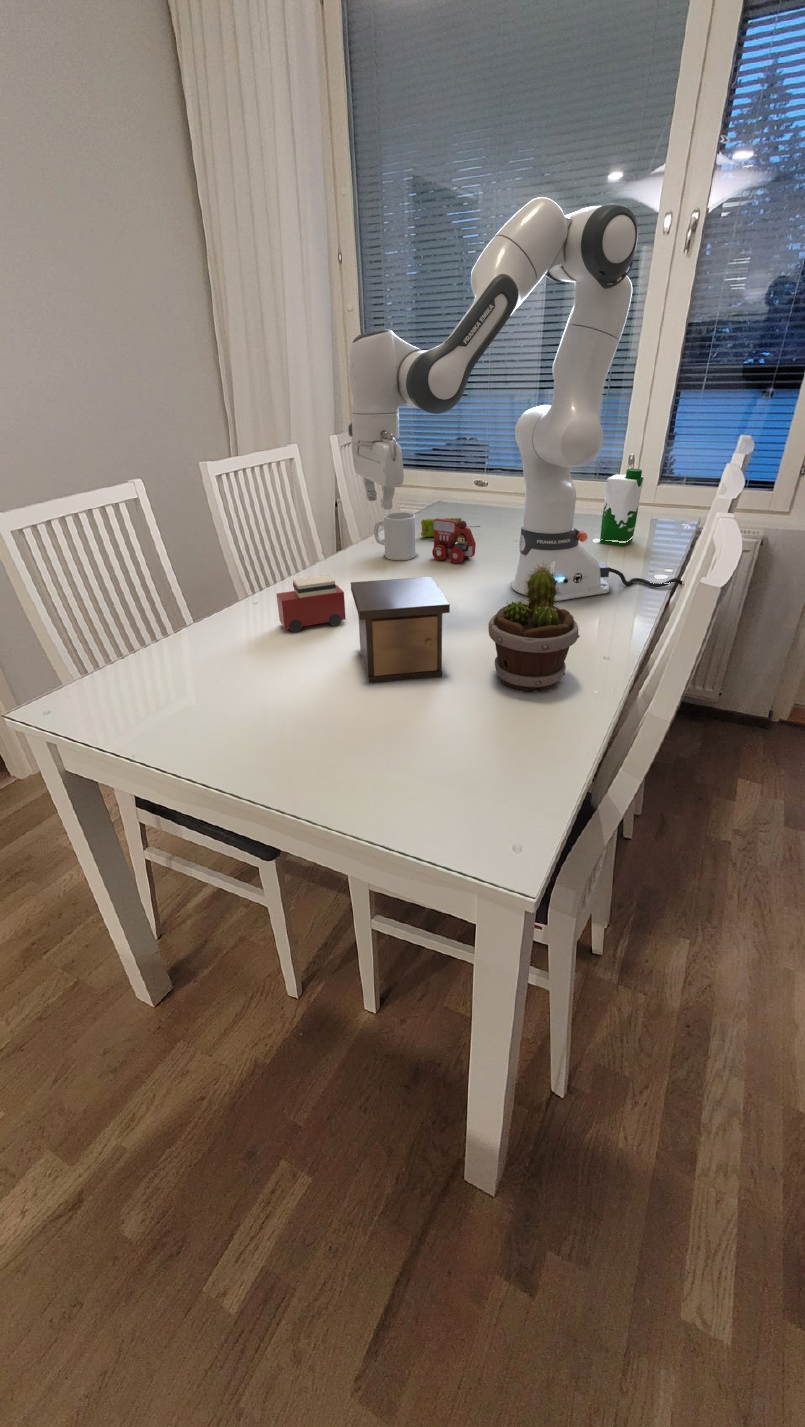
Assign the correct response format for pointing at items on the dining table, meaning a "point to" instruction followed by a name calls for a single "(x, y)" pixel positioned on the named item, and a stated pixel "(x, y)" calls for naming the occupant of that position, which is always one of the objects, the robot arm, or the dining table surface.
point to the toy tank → (428, 526)
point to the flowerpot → (533, 636)
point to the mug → (397, 535)
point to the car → (311, 603)
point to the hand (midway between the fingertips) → (379, 504)
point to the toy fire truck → (452, 540)
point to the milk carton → (621, 507)
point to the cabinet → (400, 628)
